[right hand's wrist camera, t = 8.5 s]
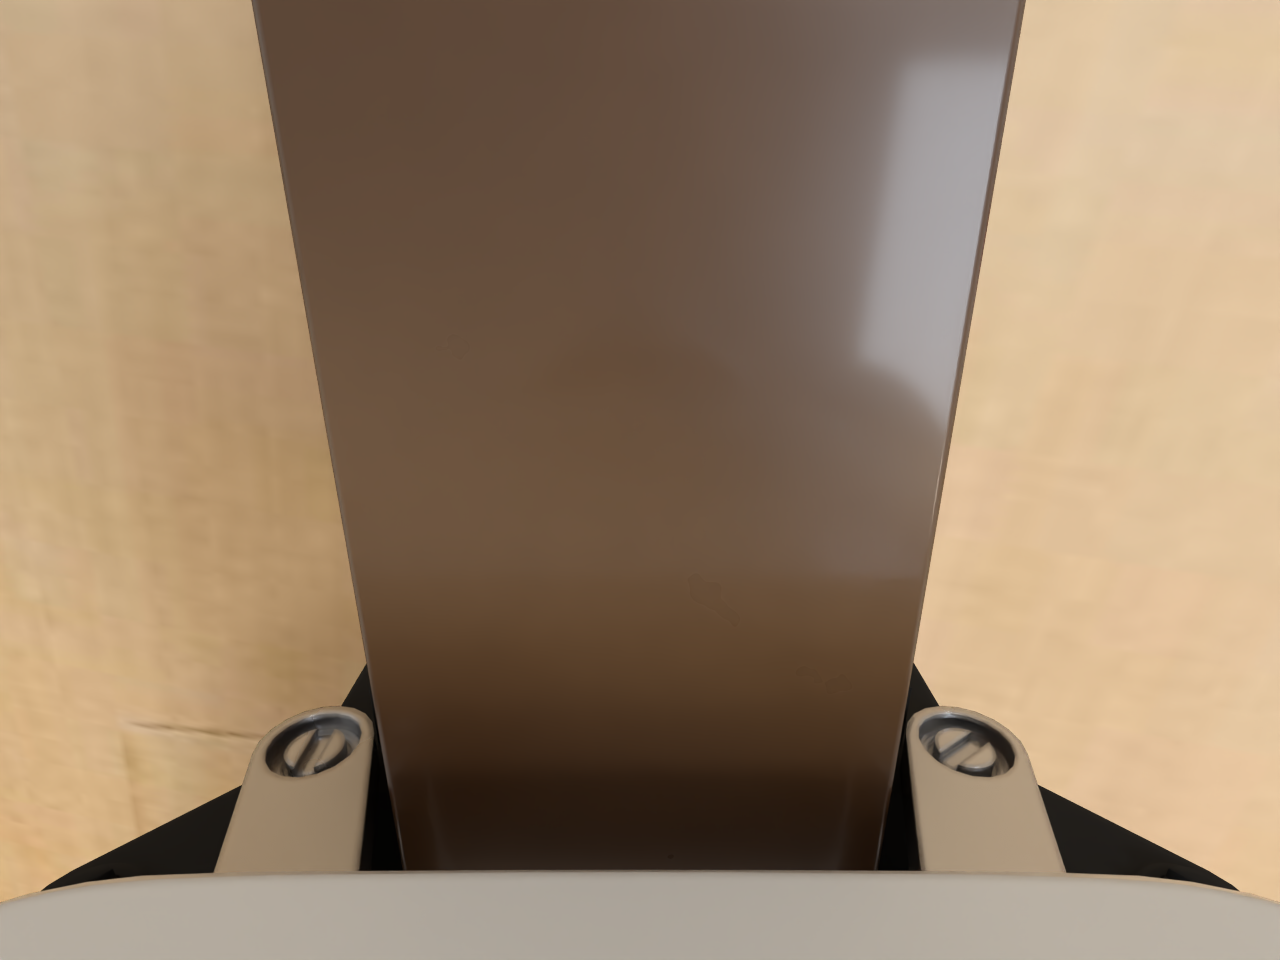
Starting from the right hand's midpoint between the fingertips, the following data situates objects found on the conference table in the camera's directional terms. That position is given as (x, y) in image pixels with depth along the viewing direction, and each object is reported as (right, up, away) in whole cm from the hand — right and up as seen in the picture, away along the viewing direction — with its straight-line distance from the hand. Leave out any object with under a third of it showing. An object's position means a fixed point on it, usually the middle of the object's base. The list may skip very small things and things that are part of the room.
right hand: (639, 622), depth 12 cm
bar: (0, +19, -4) cm, 19 cm away
